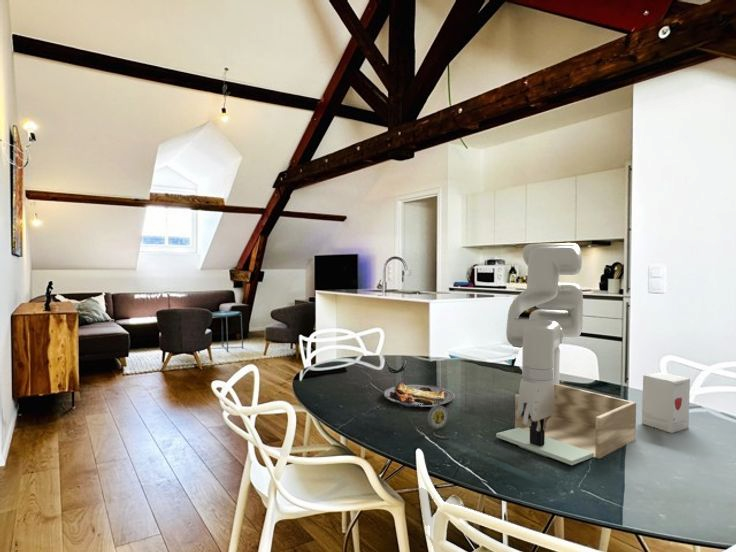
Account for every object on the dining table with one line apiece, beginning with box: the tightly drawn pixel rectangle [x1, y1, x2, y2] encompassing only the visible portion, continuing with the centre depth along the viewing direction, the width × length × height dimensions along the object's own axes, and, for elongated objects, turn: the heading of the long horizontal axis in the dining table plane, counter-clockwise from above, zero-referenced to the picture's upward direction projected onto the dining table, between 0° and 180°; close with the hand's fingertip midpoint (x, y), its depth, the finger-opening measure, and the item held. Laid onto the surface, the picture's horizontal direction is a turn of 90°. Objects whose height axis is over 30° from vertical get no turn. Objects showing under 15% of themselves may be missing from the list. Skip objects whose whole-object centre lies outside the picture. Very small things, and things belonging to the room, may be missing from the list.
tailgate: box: [495, 427, 595, 466], centre depth 118 cm, size 21×2×10 cm
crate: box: [514, 383, 637, 460], centre depth 127 cm, size 24×20×11 cm
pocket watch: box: [427, 397, 458, 440], centre depth 130 cm, size 8×8×10 cm
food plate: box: [382, 382, 456, 408], centre depth 163 cm, size 25×23×4 cm
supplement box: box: [641, 371, 691, 434], centre depth 136 cm, size 9×9×15 cm
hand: (537, 444), depth 117 cm, fingers closed
